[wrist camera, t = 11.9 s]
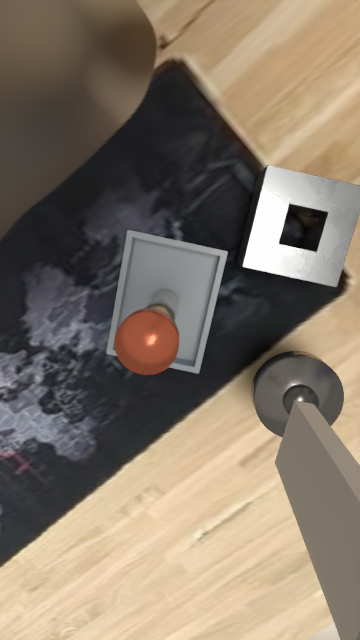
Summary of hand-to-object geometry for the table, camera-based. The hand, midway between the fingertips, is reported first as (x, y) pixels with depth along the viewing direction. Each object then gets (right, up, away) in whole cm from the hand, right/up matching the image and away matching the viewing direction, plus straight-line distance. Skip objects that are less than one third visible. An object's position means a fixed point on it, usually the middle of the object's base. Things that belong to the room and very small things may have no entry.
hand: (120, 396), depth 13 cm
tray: (+1, +5, +25) cm, 25 cm away
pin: (+1, +5, +24) cm, 25 cm away
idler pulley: (+13, -3, +26) cm, 29 cm away
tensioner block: (+14, +12, +23) cm, 29 cm away
